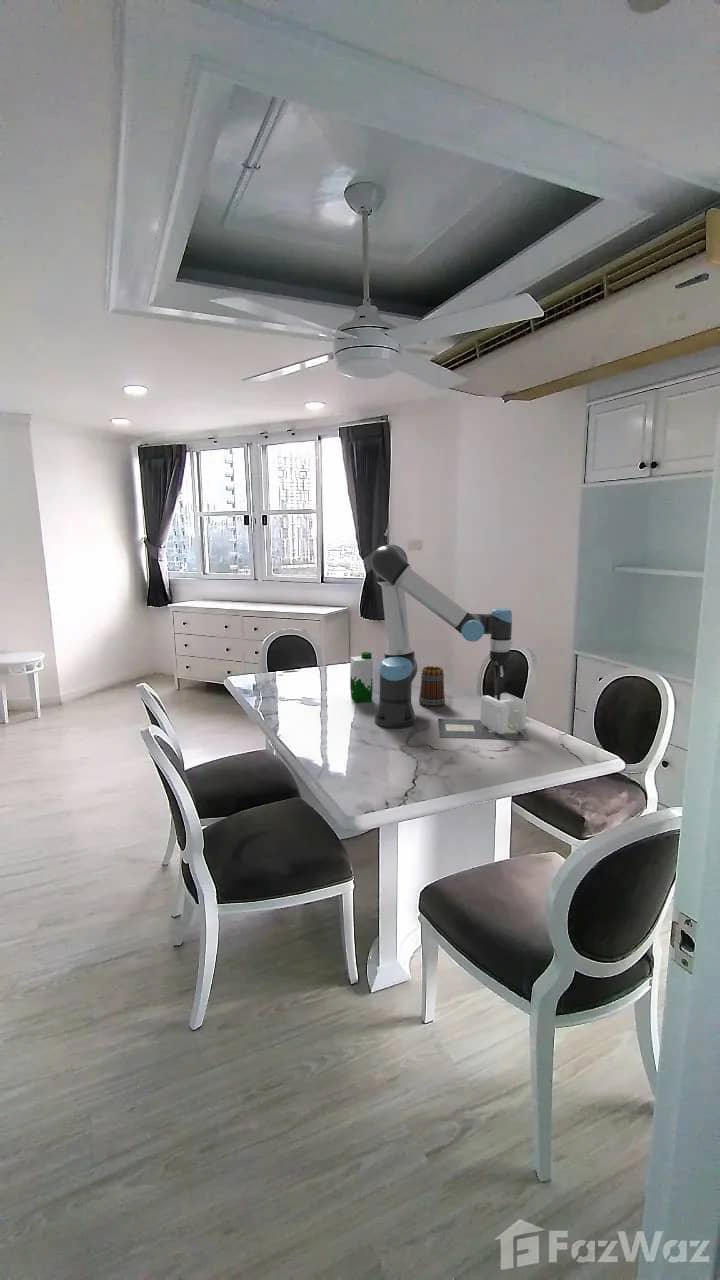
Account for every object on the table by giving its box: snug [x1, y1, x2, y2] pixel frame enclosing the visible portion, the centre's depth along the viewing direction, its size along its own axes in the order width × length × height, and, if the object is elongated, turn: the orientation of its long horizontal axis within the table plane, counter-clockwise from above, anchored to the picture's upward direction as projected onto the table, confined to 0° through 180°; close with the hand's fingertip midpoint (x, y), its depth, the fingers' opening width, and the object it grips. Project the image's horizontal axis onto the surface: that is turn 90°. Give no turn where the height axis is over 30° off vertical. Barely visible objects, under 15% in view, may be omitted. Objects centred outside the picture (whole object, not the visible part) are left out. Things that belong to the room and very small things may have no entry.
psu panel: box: [437, 718, 530, 741], centre depth 217 cm, size 30×20×1 cm, turn 85°
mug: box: [418, 664, 446, 709], centre depth 249 cm, size 16×11×15 cm
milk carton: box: [349, 651, 374, 704], centre depth 251 cm, size 9×9×20 cm
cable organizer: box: [479, 692, 528, 734], centre depth 216 cm, size 15×11×12 cm
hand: (498, 711), depth 230 cm, fingers closed
